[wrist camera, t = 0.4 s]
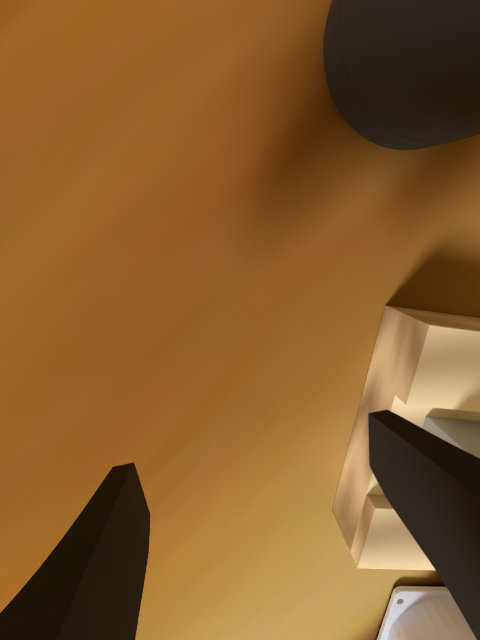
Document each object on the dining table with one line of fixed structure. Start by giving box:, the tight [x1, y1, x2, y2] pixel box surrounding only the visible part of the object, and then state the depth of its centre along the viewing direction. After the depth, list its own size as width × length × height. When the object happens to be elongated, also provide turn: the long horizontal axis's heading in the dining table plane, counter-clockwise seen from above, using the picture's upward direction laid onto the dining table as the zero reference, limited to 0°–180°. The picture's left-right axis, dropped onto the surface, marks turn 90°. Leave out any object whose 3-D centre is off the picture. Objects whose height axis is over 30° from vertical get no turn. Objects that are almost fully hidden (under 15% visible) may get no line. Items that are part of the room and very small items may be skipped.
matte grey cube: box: [422, 416, 480, 458], centre depth 17 cm, size 4×4×4 cm
